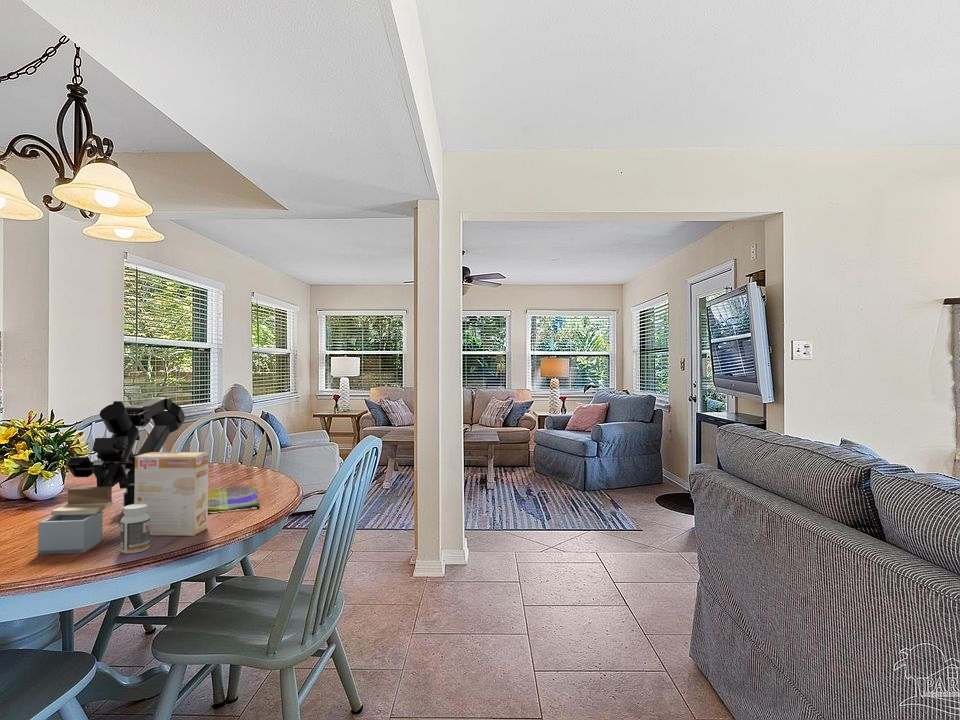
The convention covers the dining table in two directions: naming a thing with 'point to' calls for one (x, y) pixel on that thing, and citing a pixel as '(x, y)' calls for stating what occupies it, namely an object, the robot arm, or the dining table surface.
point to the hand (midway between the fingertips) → (99, 494)
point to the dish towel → (232, 498)
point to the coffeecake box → (173, 491)
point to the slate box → (69, 533)
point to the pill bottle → (135, 529)
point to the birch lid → (86, 501)
